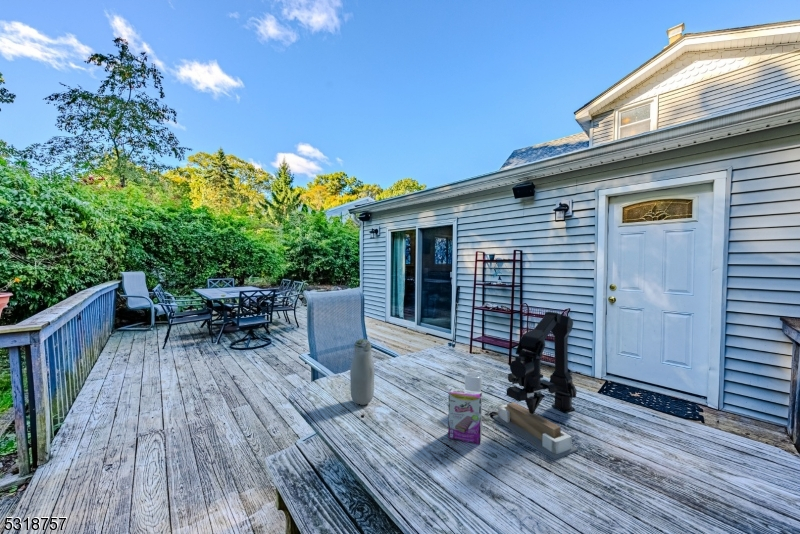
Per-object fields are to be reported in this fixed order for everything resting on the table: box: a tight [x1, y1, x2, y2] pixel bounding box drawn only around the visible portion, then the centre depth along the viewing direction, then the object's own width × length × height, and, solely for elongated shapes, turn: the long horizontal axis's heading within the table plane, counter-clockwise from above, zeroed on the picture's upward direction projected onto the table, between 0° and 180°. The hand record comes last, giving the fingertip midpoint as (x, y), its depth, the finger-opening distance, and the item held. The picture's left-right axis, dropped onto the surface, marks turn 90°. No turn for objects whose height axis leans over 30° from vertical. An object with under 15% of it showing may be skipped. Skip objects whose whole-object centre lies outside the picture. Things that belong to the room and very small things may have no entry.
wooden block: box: [506, 401, 562, 440], centre depth 110 cm, size 4×20×6 cm, turn 27°
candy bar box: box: [447, 387, 483, 445], centre depth 106 cm, size 11×5×16 cm, turn 71°
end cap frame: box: [492, 403, 579, 460], centre depth 110 cm, size 11×28×5 cm, turn 24°
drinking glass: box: [464, 371, 482, 392], centre depth 126 cm, size 7×7×15 cm
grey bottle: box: [349, 338, 375, 406], centre depth 132 cm, size 10×10×28 cm
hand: (531, 413), depth 110 cm, fingers closed
